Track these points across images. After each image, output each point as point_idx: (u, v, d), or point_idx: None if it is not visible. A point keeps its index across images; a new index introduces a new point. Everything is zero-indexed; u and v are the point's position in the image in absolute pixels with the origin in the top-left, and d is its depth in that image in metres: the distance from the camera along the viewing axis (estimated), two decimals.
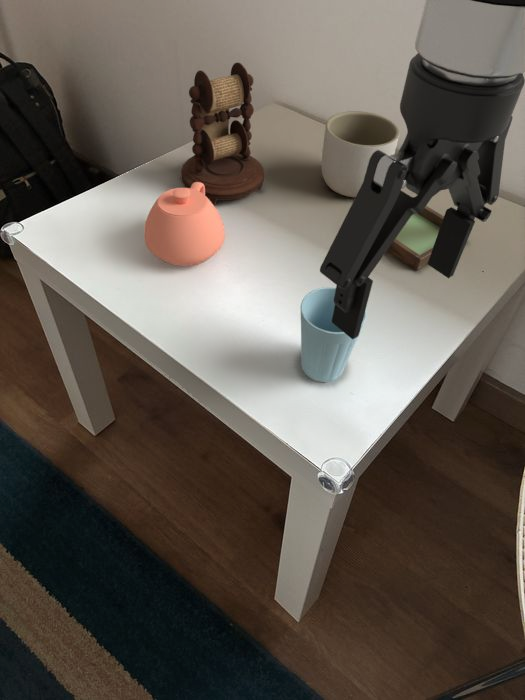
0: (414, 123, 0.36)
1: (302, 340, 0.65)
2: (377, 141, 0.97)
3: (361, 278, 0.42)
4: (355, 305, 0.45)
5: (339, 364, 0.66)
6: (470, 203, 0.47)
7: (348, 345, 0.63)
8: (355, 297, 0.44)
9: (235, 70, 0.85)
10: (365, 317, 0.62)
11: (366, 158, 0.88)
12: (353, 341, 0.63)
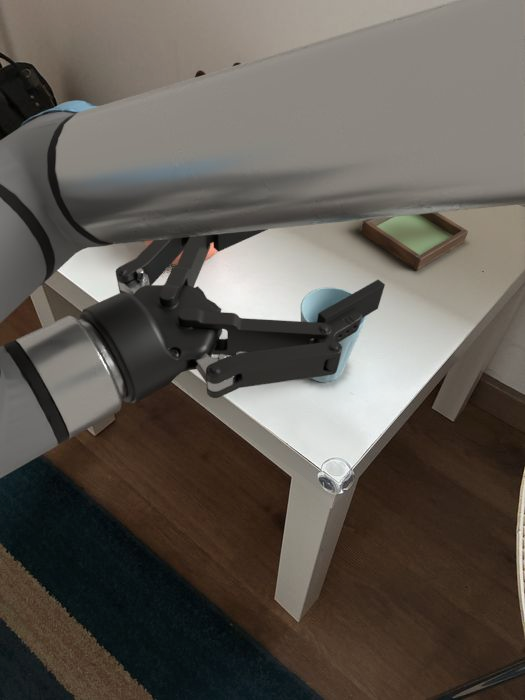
0: (170, 376, 0.38)
1: None
2: None
3: (322, 331, 0.39)
4: (350, 309, 0.42)
5: (339, 364, 0.66)
6: (201, 244, 0.45)
7: (348, 345, 0.63)
8: (342, 316, 0.41)
9: None
10: (365, 317, 0.62)
11: None
12: (353, 341, 0.63)
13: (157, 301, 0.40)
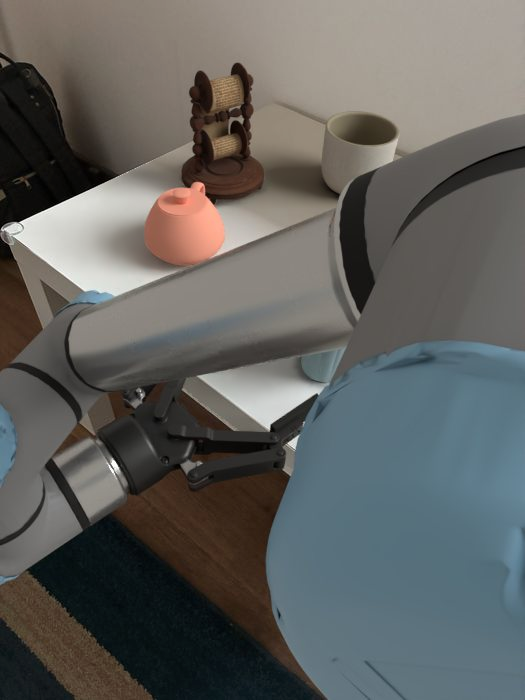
0: (161, 476, 0.52)
1: None
2: (377, 141, 0.97)
3: (272, 439, 0.54)
4: (294, 418, 0.56)
5: None
6: None
7: None
8: (289, 424, 0.56)
9: (235, 70, 0.85)
10: None
11: (365, 158, 0.88)
12: None
13: (152, 417, 0.55)
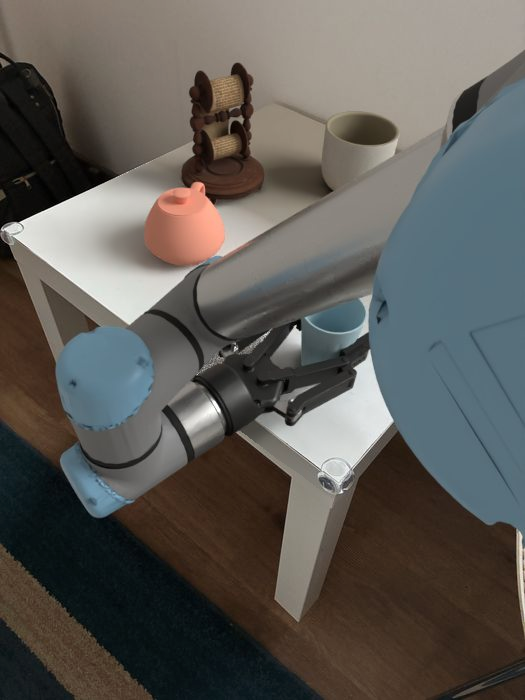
0: (253, 418, 0.58)
1: (302, 340, 0.65)
2: (377, 141, 0.97)
3: (344, 361, 0.61)
4: (360, 346, 0.64)
5: None
6: (284, 329, 0.65)
7: (348, 345, 0.63)
8: (356, 350, 0.63)
9: (235, 70, 0.85)
10: (365, 317, 0.62)
11: (365, 158, 0.88)
12: (353, 341, 0.63)
13: (240, 366, 0.60)
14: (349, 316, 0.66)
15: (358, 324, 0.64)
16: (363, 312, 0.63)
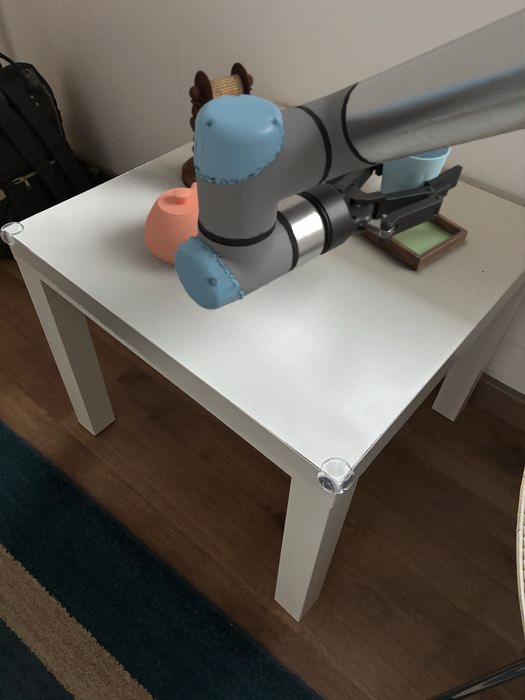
0: (348, 234, 0.60)
1: (384, 179, 0.68)
2: None
3: (430, 190, 0.64)
4: (442, 181, 0.66)
5: None
6: (367, 167, 0.67)
7: (432, 178, 0.65)
8: (439, 184, 0.66)
9: (235, 70, 0.85)
10: (449, 148, 0.64)
11: None
12: (436, 174, 0.65)
13: None
14: (428, 158, 0.69)
15: None
16: None
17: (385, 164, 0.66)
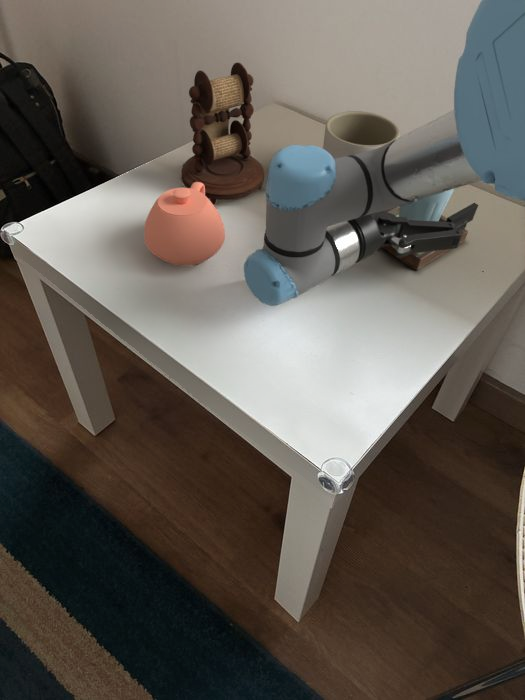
0: (377, 247, 0.76)
1: (403, 206, 0.84)
2: (377, 141, 0.97)
3: (451, 225, 0.77)
4: (461, 217, 0.79)
5: None
6: None
7: (441, 206, 0.81)
8: (458, 220, 0.79)
9: (235, 70, 0.85)
10: None
11: None
12: (445, 203, 0.81)
13: None
14: None
15: None
16: None
17: None
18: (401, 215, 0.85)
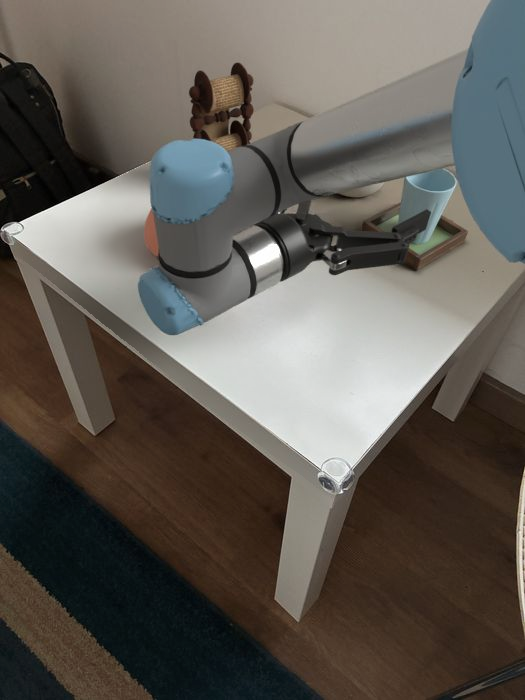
0: (307, 262, 0.63)
1: (403, 206, 0.84)
2: None
3: (396, 236, 0.65)
4: (410, 226, 0.67)
5: (431, 225, 0.84)
6: None
7: (441, 206, 0.81)
8: (406, 230, 0.66)
9: (235, 70, 0.85)
10: (456, 183, 0.80)
11: None
12: (445, 203, 0.81)
13: None
14: (438, 189, 0.85)
15: None
16: (452, 180, 0.81)
17: (404, 194, 0.82)
18: (401, 215, 0.85)
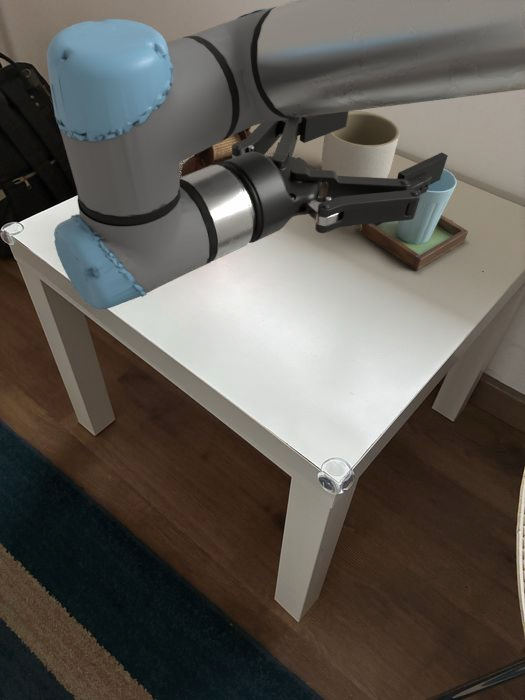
0: (286, 216, 0.48)
1: None
2: (377, 141, 0.97)
3: (403, 183, 0.50)
4: (421, 172, 0.52)
5: (431, 225, 0.84)
6: (295, 131, 0.56)
7: (441, 206, 0.81)
8: (416, 177, 0.51)
9: None
10: (456, 183, 0.80)
11: (366, 158, 0.88)
12: (445, 203, 0.81)
13: None
14: (438, 189, 0.85)
15: None
16: (452, 180, 0.81)
17: None
18: None
